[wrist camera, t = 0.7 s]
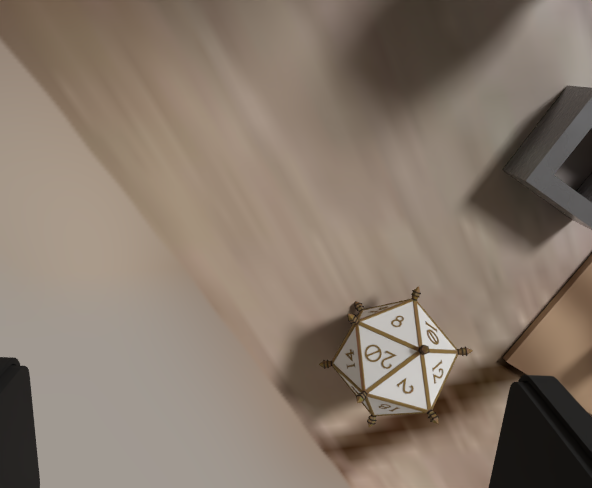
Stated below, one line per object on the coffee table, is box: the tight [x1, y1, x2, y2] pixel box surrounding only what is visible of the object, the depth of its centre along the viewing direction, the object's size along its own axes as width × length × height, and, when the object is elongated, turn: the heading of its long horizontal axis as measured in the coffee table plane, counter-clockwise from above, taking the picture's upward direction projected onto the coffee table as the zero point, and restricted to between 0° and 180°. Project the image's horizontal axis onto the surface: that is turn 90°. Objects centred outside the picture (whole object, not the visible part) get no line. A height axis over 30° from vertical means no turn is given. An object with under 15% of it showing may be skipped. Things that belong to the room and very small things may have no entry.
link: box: [503, 86, 592, 230], centre depth 35 cm, size 6×6×4 cm
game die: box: [319, 287, 473, 427], centre depth 36 cm, size 9×8×10 cm
